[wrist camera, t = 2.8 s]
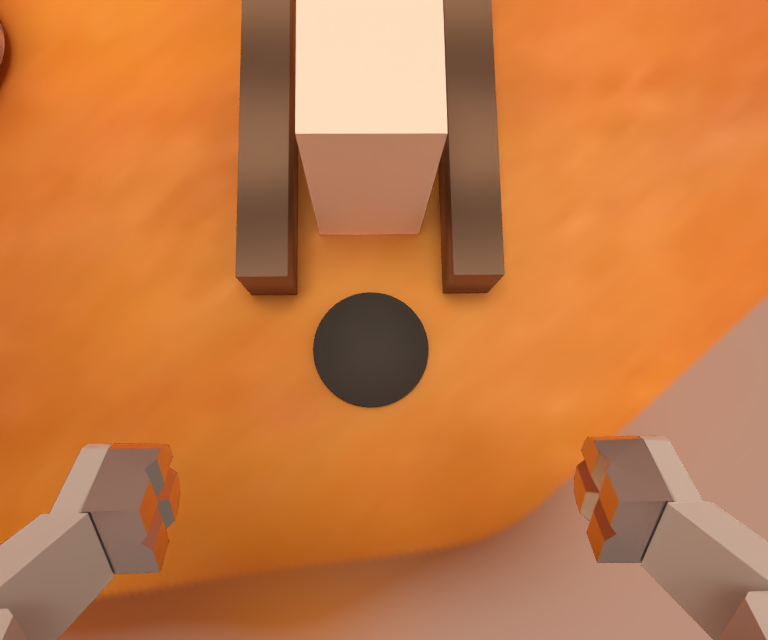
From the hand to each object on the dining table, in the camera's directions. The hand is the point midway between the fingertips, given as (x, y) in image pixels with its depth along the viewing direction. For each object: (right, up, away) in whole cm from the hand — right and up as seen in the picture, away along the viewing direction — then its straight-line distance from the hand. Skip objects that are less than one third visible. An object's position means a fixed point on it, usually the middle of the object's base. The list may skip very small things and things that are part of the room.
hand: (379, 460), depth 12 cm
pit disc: (0, +1, +15) cm, 15 cm away
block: (-1, +9, +16) cm, 19 cm away
